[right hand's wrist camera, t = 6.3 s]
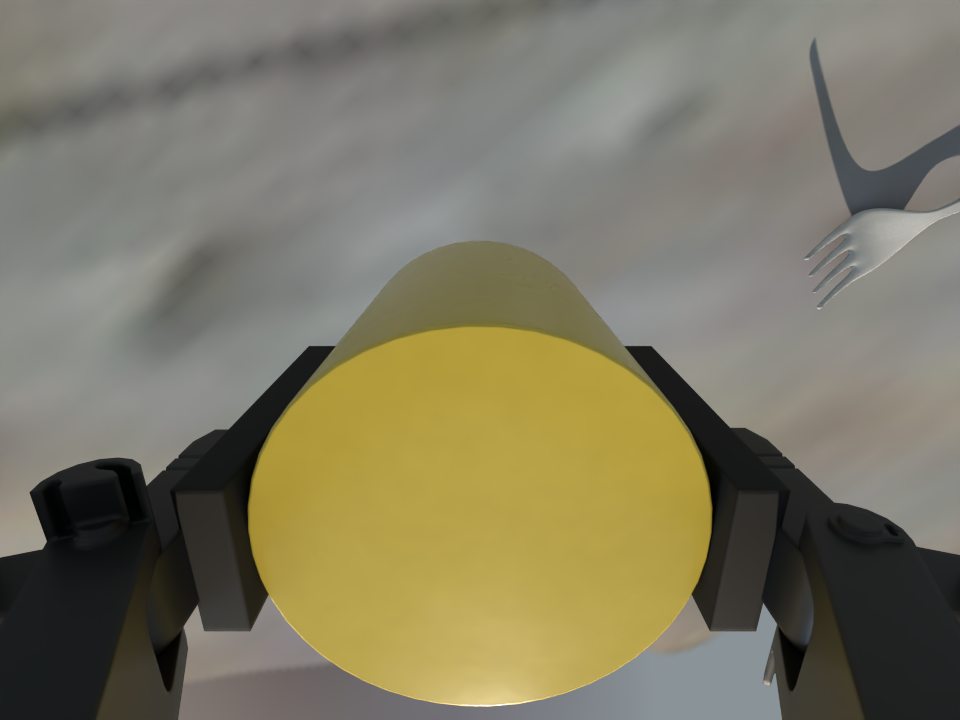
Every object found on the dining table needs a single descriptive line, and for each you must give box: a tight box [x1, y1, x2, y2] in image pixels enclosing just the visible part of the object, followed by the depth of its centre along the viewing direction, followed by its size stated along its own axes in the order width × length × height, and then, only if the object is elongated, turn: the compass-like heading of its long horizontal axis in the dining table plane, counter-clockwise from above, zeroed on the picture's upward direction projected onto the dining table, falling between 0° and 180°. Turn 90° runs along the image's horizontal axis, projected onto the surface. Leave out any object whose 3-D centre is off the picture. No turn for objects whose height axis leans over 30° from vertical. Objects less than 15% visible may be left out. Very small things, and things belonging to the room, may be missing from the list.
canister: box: [248, 241, 712, 706], centre depth 12 cm, size 8×8×9 cm
